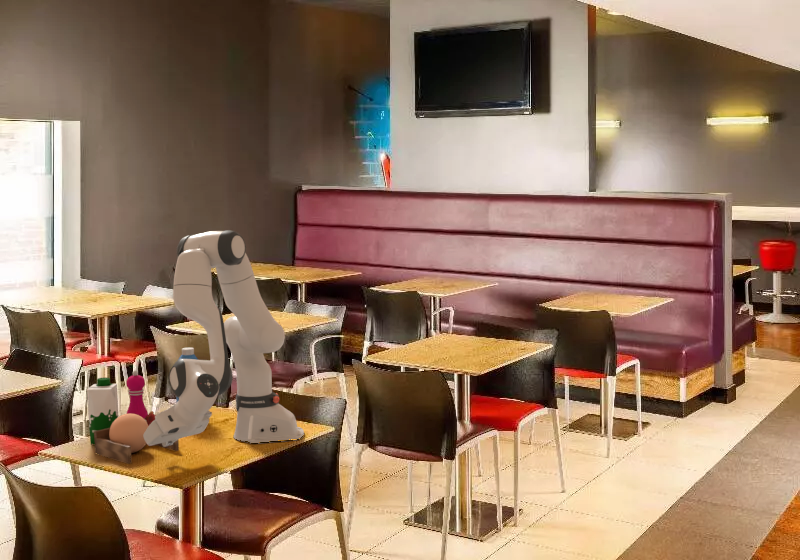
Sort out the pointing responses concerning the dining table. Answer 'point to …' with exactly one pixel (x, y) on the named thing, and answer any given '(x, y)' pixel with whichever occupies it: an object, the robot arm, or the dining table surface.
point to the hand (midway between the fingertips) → (166, 444)
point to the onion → (150, 417)
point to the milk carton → (102, 405)
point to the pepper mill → (136, 395)
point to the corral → (118, 447)
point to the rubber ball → (129, 431)
